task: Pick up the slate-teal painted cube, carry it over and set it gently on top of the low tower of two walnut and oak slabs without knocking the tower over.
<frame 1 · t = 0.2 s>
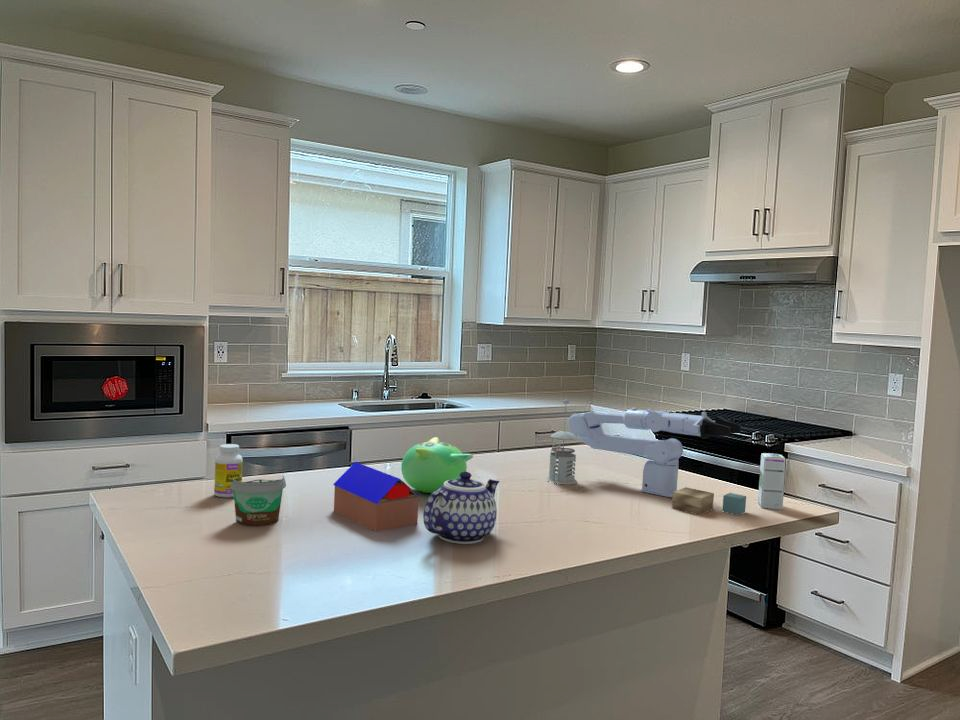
hand: (735, 430, 197), 21 cm above the countertop, tool horizontal, fingers open, 7 cm apart
slab bottom: (692, 510, 195), on the countertop, touching slab top
syrup box: (769, 507, 202), on the countertop
supplement bottle: (228, 495, 186), on the countertop
slab top: (692, 501, 195), point 2 cm above the countertop, touching slab bottom
house: (374, 518, 173), on the countertop
toy bird: (433, 492, 199), on the countertop
french press: (560, 482, 220), on the countertop
teapot: (461, 538, 161), on the countertop
teal cube: (733, 512, 194), on the countertop
food container: (259, 524, 164), on the countertop
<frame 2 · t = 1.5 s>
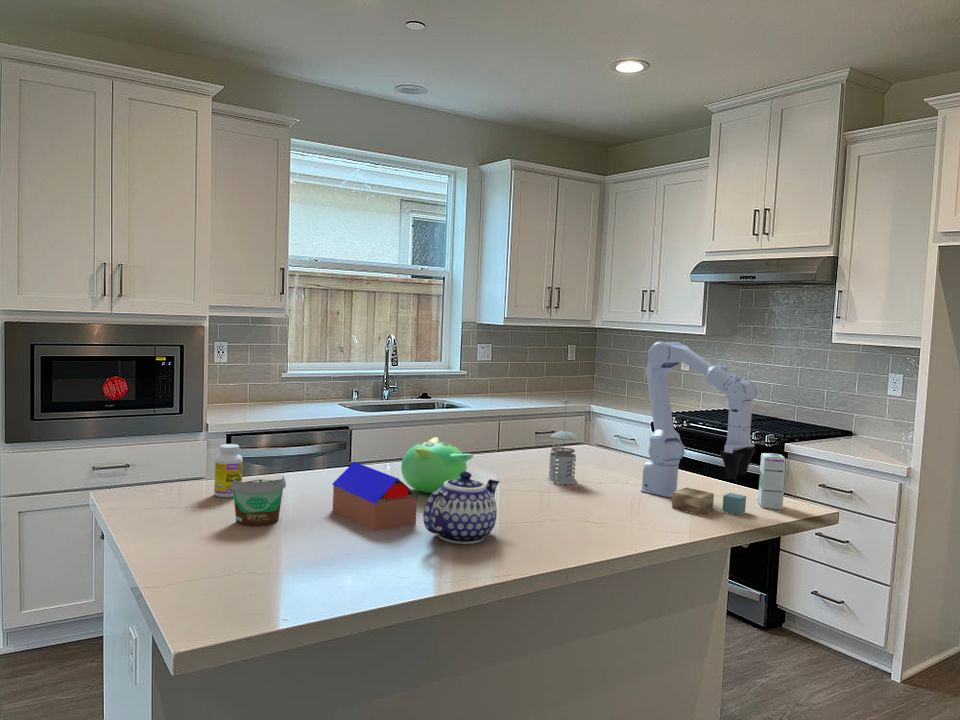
hand: (736, 476, 194), 10 cm above the countertop, tool pointing down, fingers open, 7 cm apart
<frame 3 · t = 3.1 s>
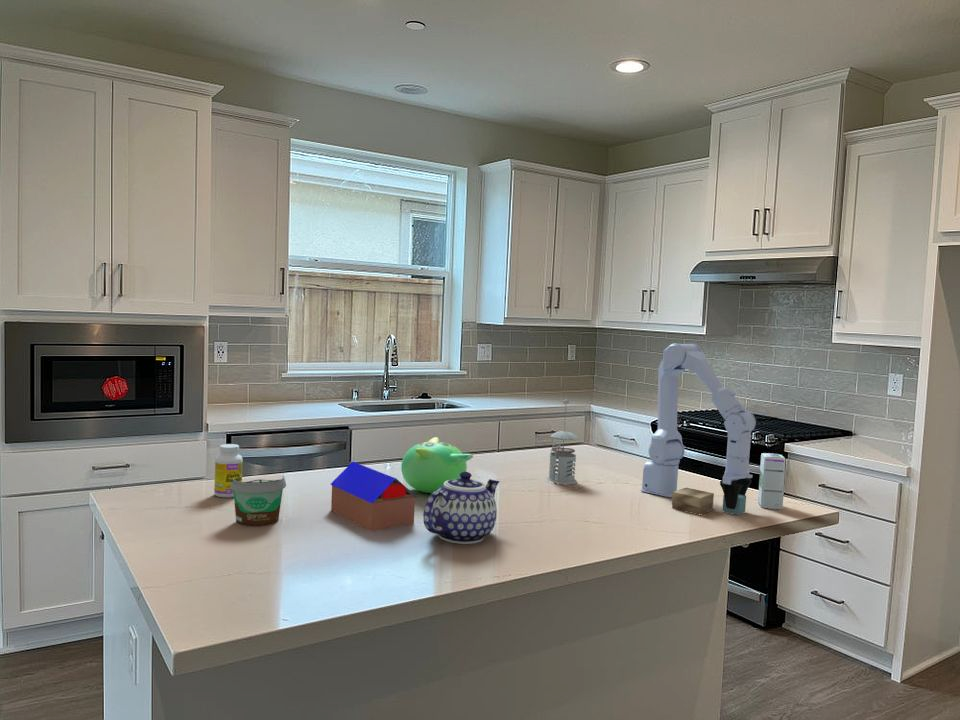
hand: (734, 506, 194), 1 cm above the countertop, tool pointing down, fingers closed on teal cube, 4 cm apart
teal cube: (733, 511, 194), on the countertop, touching gripper
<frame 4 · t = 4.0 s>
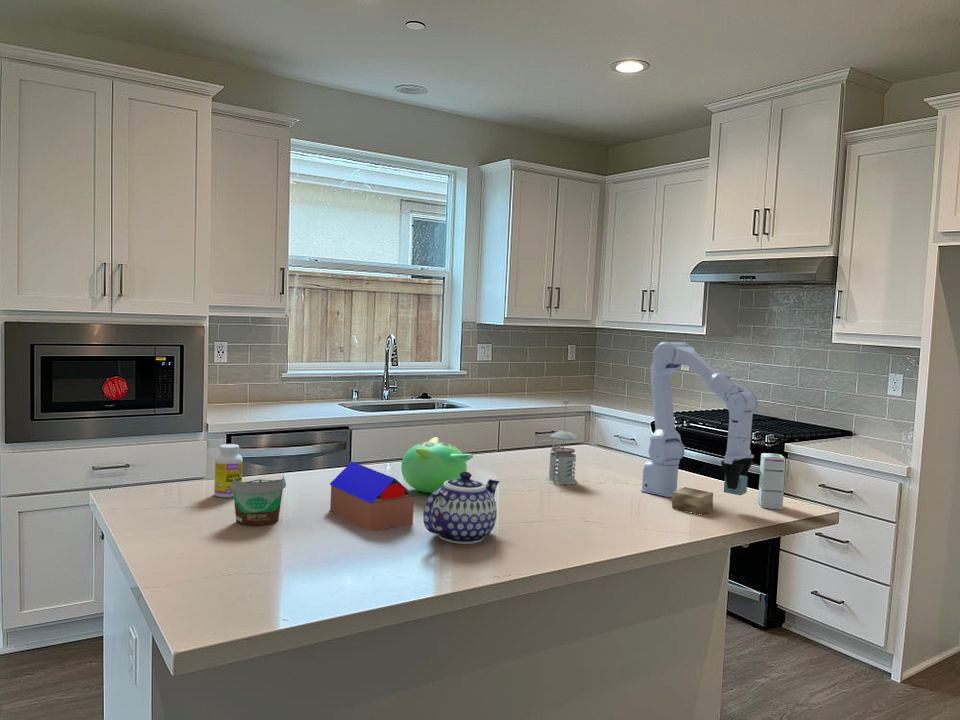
hand: (735, 486, 194), 7 cm above the countertop, tool pointing down, fingers closed on teal cube, 4 cm apart
teal cube: (735, 492, 194), point 5 cm above the countertop, touching gripper
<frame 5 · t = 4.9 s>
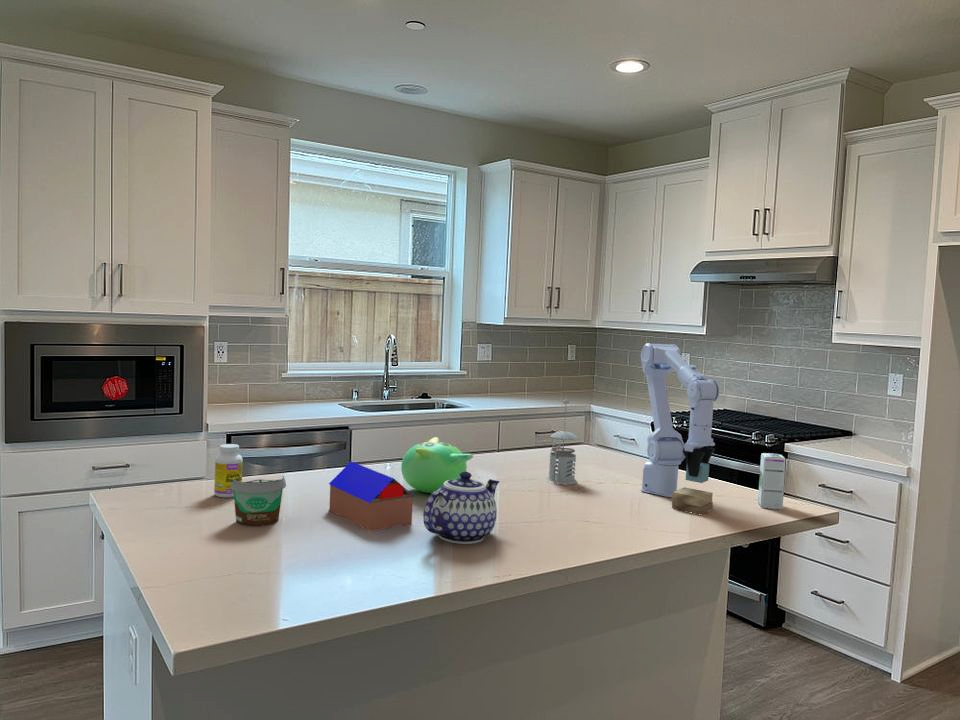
hand: (697, 474, 195), 9 cm above the countertop, tool pointing down, fingers closed on teal cube, 4 cm apart
teal cube: (696, 480, 195), point 8 cm above the countertop, touching gripper
when the fingers open (8 cm above the countertop, at t = 5.8 s): teal cube drops 2 cm, point 4 cm above the countertop.
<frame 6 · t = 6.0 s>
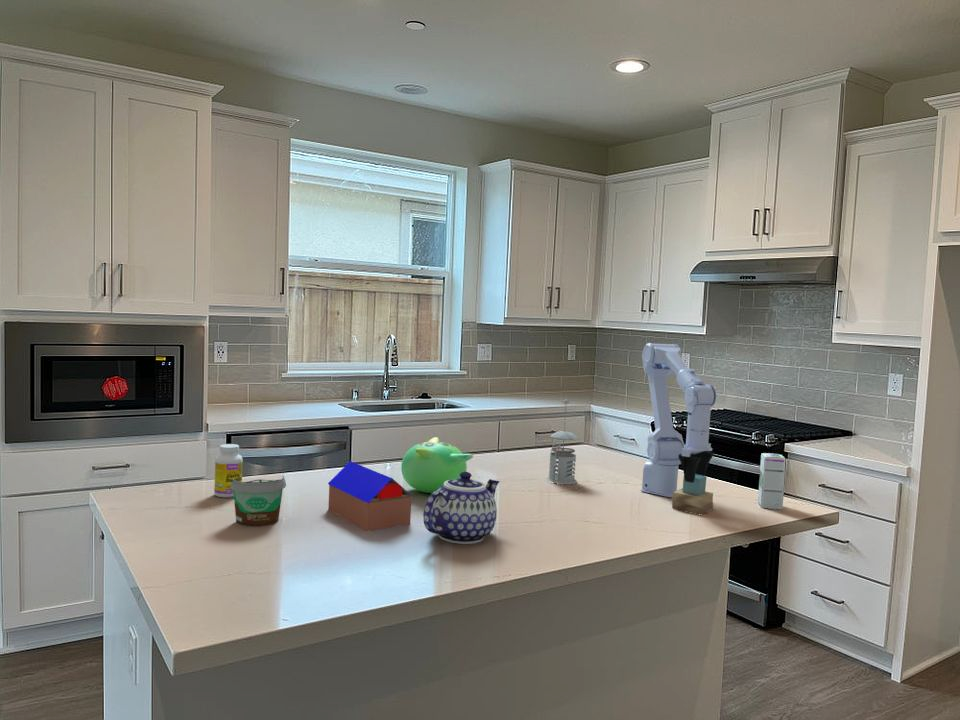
hand: (694, 479, 195), 8 cm above the countertop, tool pointing down, fingers open, 6 cm apart
teal cube: (693, 492, 195), point 4 cm above the countertop
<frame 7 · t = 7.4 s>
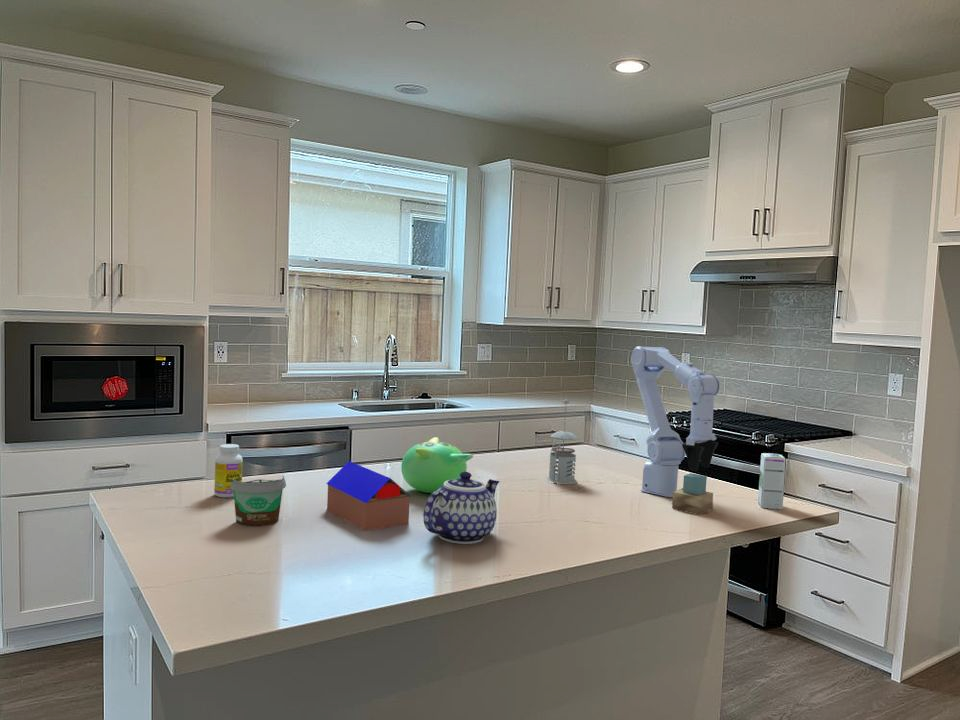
hand: (699, 469, 197), 10 cm above the countertop, tool pointing down, fingers open, 7 cm apart
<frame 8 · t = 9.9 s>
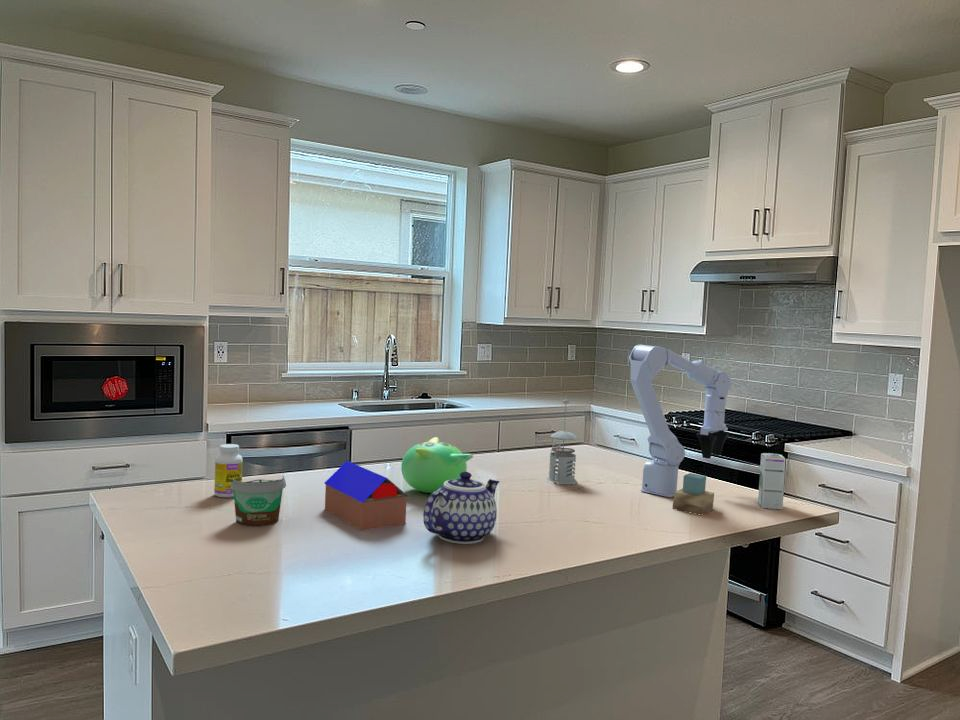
hand: (711, 456, 216), 10 cm above the countertop, tool pointing down, fingers open, 7 cm apart
slab top: (693, 501, 195), point 2 cm above the countertop, touching slab bottom, teal cube
teal cube: (693, 492, 195), point 5 cm above the countertop, touching slab top
at the end: teal cube 0.2 cm off-centre on the slab bottom, point 5.0 cm above the slab bottom's base; slab top 0.2 cm off-centre on the slab bottom, point 2.5 cm above the slab bottom's base; the gripper is holding nothing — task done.
